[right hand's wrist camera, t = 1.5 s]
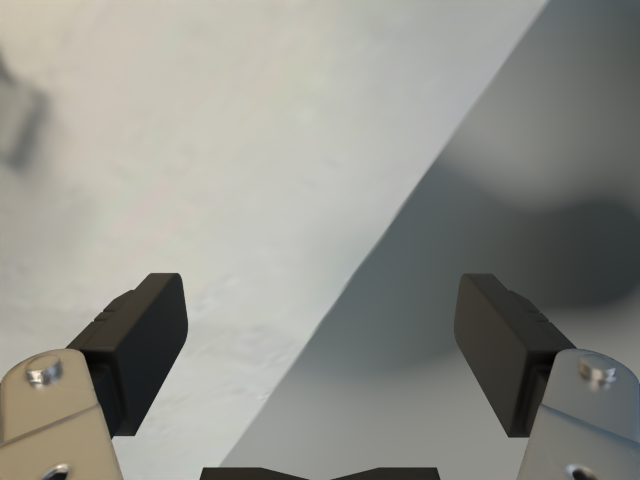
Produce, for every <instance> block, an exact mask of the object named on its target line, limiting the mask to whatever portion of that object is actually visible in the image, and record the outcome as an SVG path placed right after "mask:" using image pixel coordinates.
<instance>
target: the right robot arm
mask: <svg viewBox="0 0 640 480" xmlns="http://www.w3.org/2000/svg"><path fill="white" fill-rule="evenodd" d="M187 333H188V318H187V311H186V304H185V297H184V290H183V283H182V278H181V276H180V274H178V273H150V274H149V275H148V276H147V277H146V278H145V279H144V280H143V281H142V282H141V283H140V285H139V286H138V287H137V288H136V289H135V290H130V291H128V292H126V293H124V294H123V295H121V296H119V297H117V298H115V299H114V300H113V301H112V302H111V303H110V304H109V305H108V306H107V307H106V308H105V309H104V310H103V312H101V313H100V314H99V315H98V316H97V317H96V318H95V319H94V322H91V323H90V324H89V325H88V326H87V327H86V328H85V329H84V330H83V331H82V332H81V333H80V334H79V335H78V336H77V337H76V338H75V339H74V340H73V341H72V342H71V343H70V344H69V345H68V346H67V347H66V348H65V349H56V350H51V351H47V352H43V353H40V354H37V355H34V356H32V357H30V358H28V359H26V360H24V361H22V362H20V363H19V364H17V365H16V366H14V367H13V368H12V369H10V370H9V371H8V372H7V373H6V375H5V376H4V377H3V379H2V381H1V383H0V480H124V479H123V476H122V473H121V470H120V466H119V463H118V460H117V457H116V454H115V450H114V447H113V444H112V441H111V440H112V438H113V437H114V436H135V434H136V432H137V431H138V429H139V427H140V425H141V423H142V421H143V420H144V418H145V416H146V414H147V412H148V410H149V408H150V407H151V405H152V403H153V401H154V399H155V397H156V395H157V394H158V392H159V390H160V388H161V386H162V384H163V382H164V381H165V379H166V377H167V375H168V373H169V371H170V369H171V368H172V366H173V364H174V362H175V360H176V358H177V356H178V355H179V353H180V351H181V349H182V347H183V345H184V343H185V341H186V338H187ZM454 333H455V338H456V342H457V344H458V346H459V348H460V349H461V351H462V353H463V355H464V357H465V359H466V361H467V362H468V364H469V366H470V368H471V370H472V372H473V373H474V375H475V377H476V379H477V381H478V382H479V384H480V386H481V388H482V390H483V392H484V394H485V395H486V397H487V399H488V401H489V403H490V405H491V406H492V408H493V410H494V412H495V414H496V415H497V417H498V419H499V421H500V423H501V425H502V426H503V428H504V430H505V432H506V434H507V436H508V437H529V441H528V444H527V447H526V450H525V454H524V457H523V460H522V463H521V466H520V470H519V473H518V476H517V479H516V480H640V384H639V381H638V379H637V377H636V376H635V375H634V373H633V372H632V371H631V370H630V369H628V368H627V367H626V366H624V365H623V364H621V363H620V362H618V361H616V360H614V359H612V358H610V357H608V356H605V355H603V354H600V353H597V352H593V351H589V350H584V349H577V348H576V347H575V346H574V345H573V344H572V343H571V342H570V341H569V340H568V339H567V338H566V337H565V336H564V335H563V334H562V333H561V332H560V331H559V330H558V329H557V328H556V327H555V326H554V325H553V324H552V323H551V322H549V320H548V319H547V318H546V317H545V316H544V315H543V314H542V313H540V312H539V310H538V309H537V308H536V307H535V306H534V305H533V304H532V303H531V302H530V301H529V300H528V299H526V298H524V297H522V296H520V295H519V294H517V293H515V292H513V291H508V290H507V289H506V288H505V287H504V286H503V285H502V284H501V283H500V282H499V280H498V279H497V278H496V277H495V276H494V275H493V274H463V275H462V277H461V279H460V284H459V291H458V298H457V305H456V312H455V320H454ZM200 480H308V479H304V478H300V477H296V476H292V475H288V474H284V473H280V472H276V471H272V470H268V469H264V468H203V470H202V473H201V477H200ZM332 480H440V477H439V474H438V470H437V468H376V469H372V470H368V471H364V472H360V473H356V474H352V475H348V476H344V477H340V478H336V479H332Z"/></svg>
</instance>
